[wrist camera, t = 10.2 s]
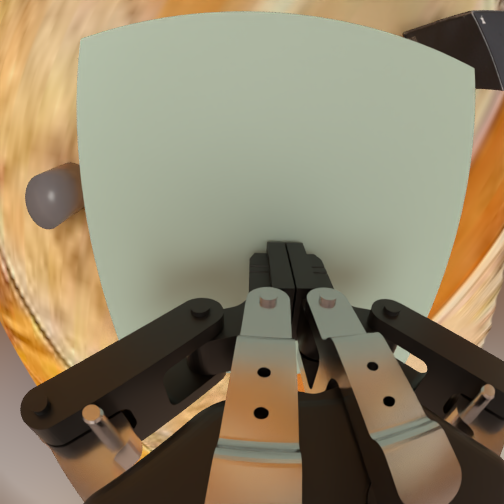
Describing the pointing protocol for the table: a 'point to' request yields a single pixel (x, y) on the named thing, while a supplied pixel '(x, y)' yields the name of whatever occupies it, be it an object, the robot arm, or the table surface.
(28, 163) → the table surface
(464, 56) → the small box
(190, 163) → the lid
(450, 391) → the robot arm
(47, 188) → the dark grey cylinder
